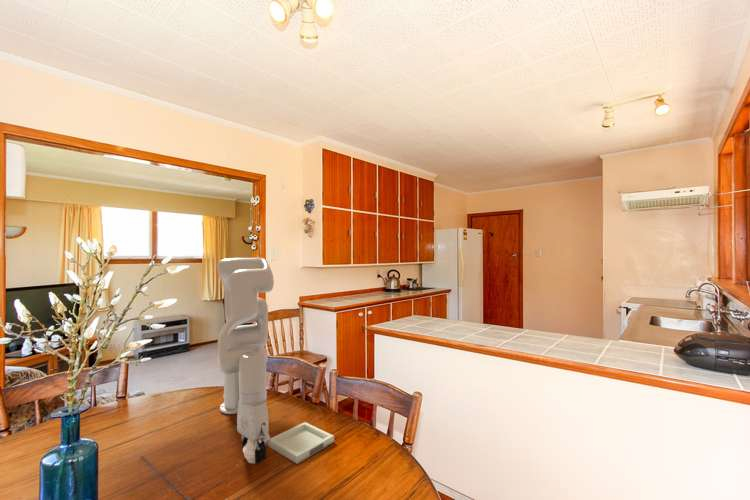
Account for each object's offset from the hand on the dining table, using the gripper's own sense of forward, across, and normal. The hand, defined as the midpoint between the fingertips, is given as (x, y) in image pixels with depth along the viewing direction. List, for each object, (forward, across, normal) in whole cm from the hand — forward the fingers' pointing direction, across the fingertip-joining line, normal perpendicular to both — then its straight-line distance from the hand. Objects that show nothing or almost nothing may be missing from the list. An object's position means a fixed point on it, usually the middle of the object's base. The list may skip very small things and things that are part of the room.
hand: (254, 456), depth 103 cm
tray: (+1, +4, +14) cm, 15 cm away
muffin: (+1, 0, 0) cm, 1 cm away
